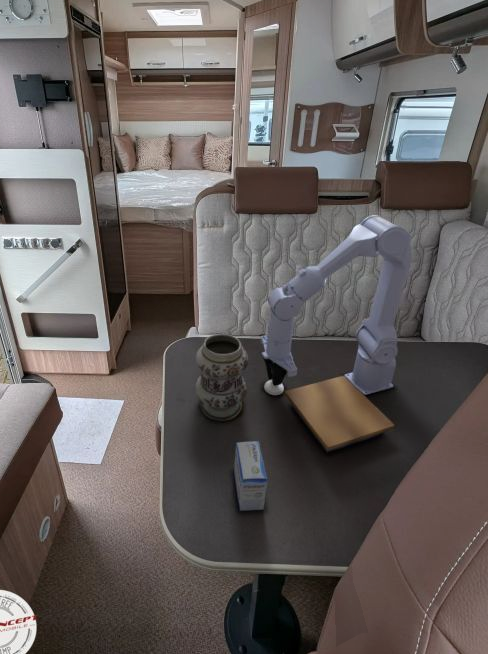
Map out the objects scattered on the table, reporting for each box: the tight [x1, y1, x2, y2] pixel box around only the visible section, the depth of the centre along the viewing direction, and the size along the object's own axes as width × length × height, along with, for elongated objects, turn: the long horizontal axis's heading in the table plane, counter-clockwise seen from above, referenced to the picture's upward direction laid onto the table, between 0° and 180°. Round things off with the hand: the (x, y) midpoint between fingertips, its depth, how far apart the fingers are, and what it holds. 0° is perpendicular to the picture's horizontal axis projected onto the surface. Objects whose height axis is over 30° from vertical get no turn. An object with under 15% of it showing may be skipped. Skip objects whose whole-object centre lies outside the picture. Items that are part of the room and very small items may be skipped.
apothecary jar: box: [195, 333, 249, 422], centre depth 84 cm, size 12×12×18 cm
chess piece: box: [263, 362, 285, 396], centre depth 91 cm, size 5×5×10 cm
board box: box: [283, 375, 396, 454], centre depth 83 cm, size 17×17×4 cm
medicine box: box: [233, 440, 268, 512], centre depth 66 cm, size 8×4×9 cm, turn 5°
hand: (274, 381), depth 92 cm, fingers closed on chess piece
